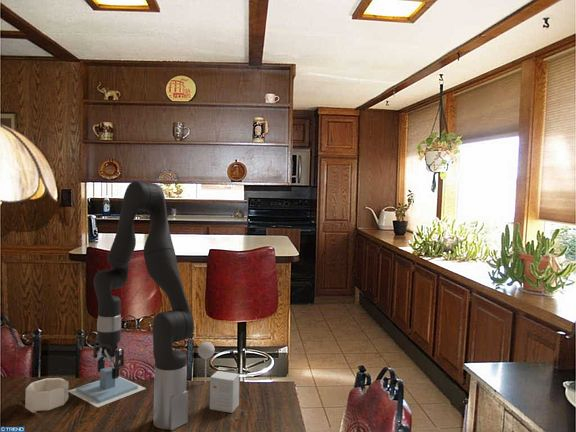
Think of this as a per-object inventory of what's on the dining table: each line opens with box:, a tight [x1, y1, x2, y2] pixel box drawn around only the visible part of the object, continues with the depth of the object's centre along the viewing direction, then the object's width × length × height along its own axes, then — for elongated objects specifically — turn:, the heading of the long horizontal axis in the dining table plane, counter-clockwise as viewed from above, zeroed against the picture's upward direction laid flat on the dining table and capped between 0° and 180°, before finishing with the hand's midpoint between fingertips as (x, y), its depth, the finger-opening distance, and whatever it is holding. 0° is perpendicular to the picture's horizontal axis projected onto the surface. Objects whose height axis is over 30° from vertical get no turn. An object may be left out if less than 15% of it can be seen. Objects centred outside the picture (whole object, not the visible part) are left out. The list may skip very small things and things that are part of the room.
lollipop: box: [197, 341, 216, 384], centre depth 161 cm, size 6×6×15 cm
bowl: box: [24, 377, 69, 414], centre depth 141 cm, size 11×11×6 cm
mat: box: [68, 376, 147, 408], centre depth 151 cm, size 18×18×1 cm
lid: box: [75, 366, 138, 403], centre depth 151 cm, size 14×14×7 cm
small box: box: [209, 370, 240, 414], centre depth 143 cm, size 8×6×10 cm
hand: (107, 374), depth 152 cm, fingers open, 8 cm apart
